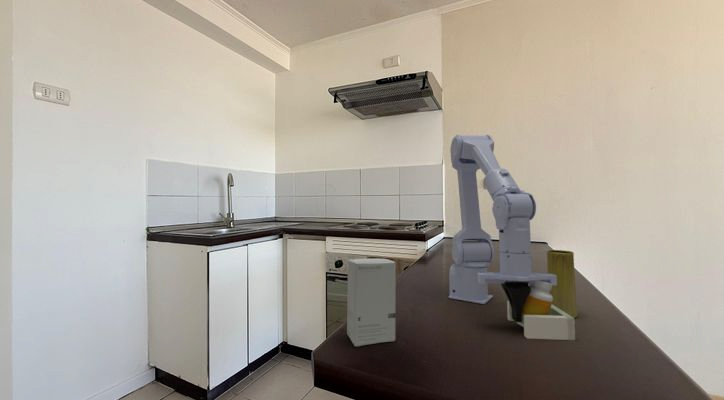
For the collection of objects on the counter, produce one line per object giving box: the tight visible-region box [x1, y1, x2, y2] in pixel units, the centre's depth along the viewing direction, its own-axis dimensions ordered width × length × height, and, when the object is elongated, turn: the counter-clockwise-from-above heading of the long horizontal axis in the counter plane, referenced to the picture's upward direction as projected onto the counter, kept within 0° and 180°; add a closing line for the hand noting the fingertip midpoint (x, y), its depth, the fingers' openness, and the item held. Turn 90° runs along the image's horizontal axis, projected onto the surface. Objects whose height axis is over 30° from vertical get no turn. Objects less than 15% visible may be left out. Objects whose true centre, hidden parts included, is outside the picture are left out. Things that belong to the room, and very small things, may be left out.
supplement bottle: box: [515, 280, 553, 328], centre depth 60 cm, size 5×5×10 cm
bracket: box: [506, 300, 576, 341], centre depth 60 cm, size 8×10×4 cm
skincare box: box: [346, 257, 397, 348], centre depth 57 cm, size 8×6×15 cm
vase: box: [546, 249, 579, 319], centre depth 69 cm, size 6×6×14 cm
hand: (517, 320), depth 60 cm, fingers closed, pressing on supplement bottle
